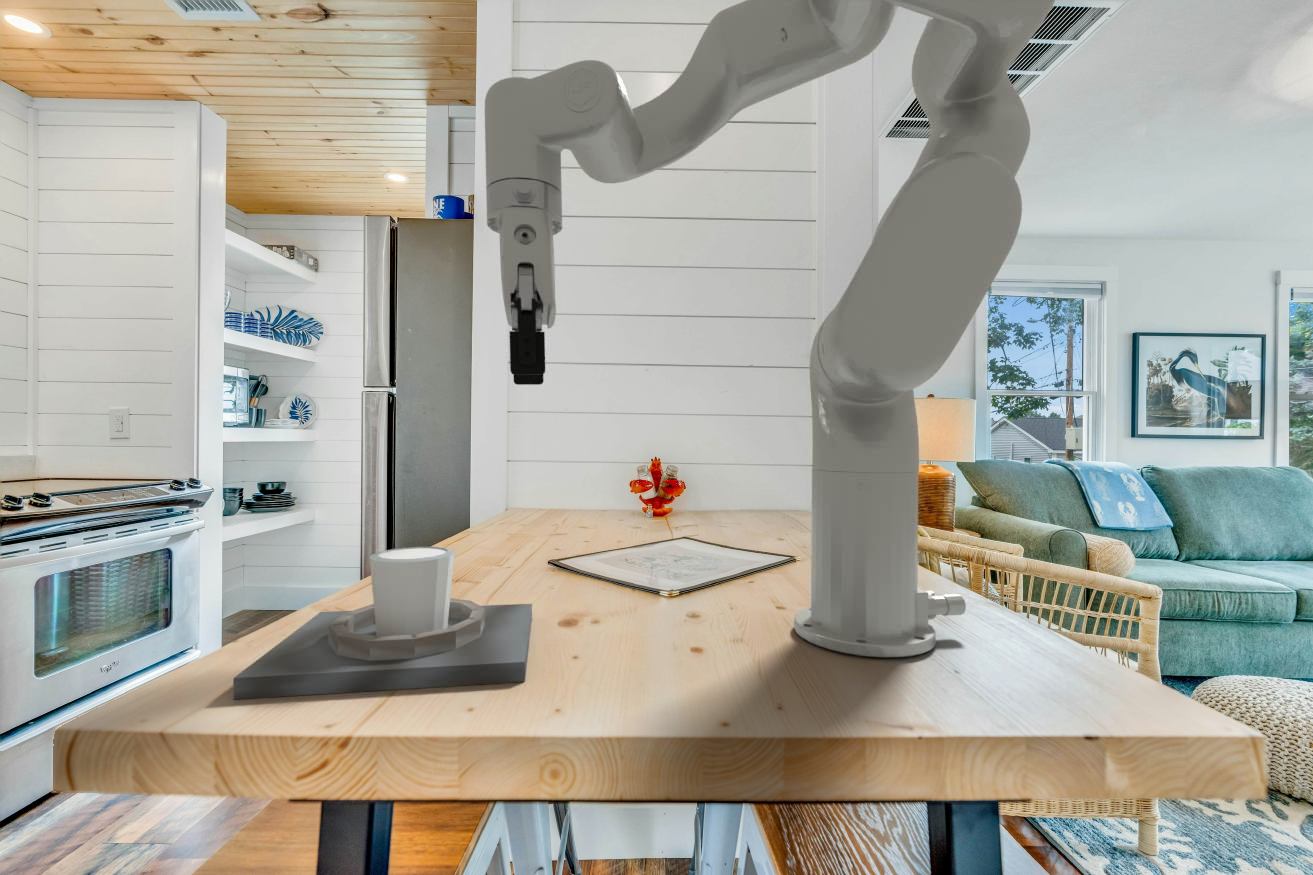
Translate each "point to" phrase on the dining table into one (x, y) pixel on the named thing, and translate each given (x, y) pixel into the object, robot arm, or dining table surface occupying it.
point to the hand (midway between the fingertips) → (528, 379)
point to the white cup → (411, 589)
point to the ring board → (393, 654)
